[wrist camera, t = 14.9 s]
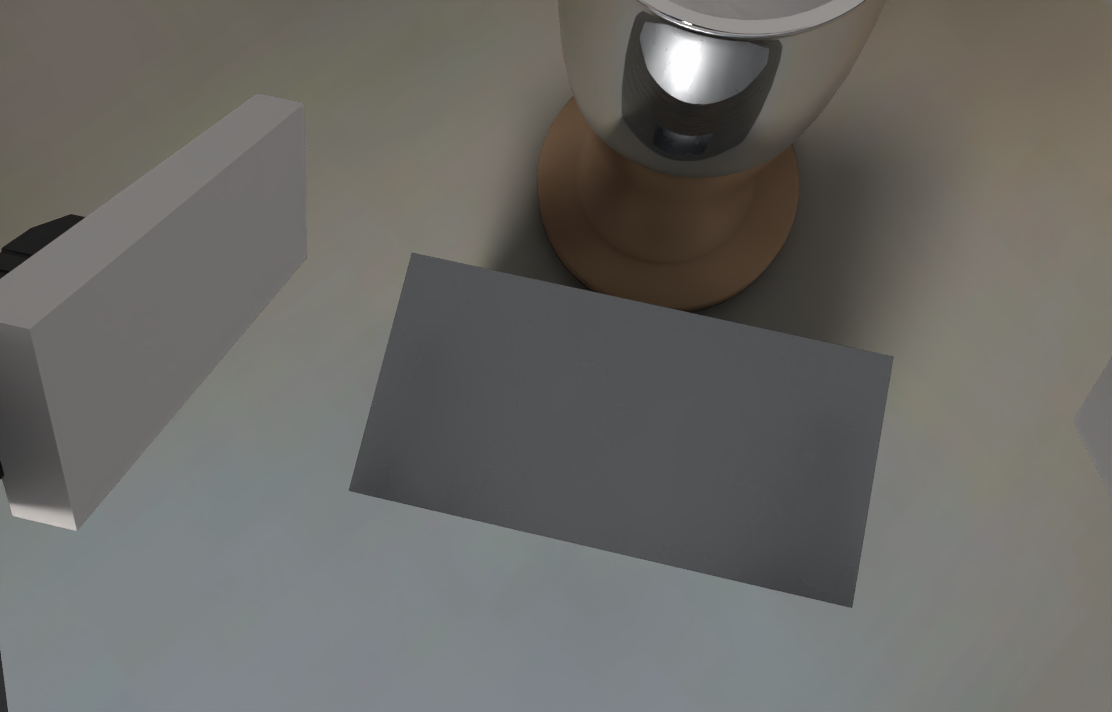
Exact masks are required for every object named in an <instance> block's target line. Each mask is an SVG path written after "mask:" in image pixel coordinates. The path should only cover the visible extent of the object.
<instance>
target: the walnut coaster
mask: <svg viewBox="0 0 1112 712" xmlns="http://www.w3.org/2000/svg"><path fill="white" fill-rule="evenodd" d="M586 135H587V129H586V127H585V124H584V122H583V119H582V117H581V114H580V111H579V109H578V106H577V103H576V101H575V98H574V96H573V97H572V98H571V99H570V101H569V102H568V103H567V104H566V105H565V106H564V108H563V109H562V110H561V111H560V113H559V114H558V116H557V117H556V119H555V120H554V122H553V124H552V126H551V128H550V130H549V132H548V134H547V136H546V138H545V141H544V144H543V148H542V151H541V154H540V160H539V166H538V181H537V187H538V197H539V206H540V213H541V217H542V221H543V226H544V229H545V231H546V234H547V236H548V239H549V241H550V243H551V245H552V247H553V249H554V250H555V252H556V254H557V256H558V257H559V258H560V260H561V261H562V262H563V264H564V265H565V266H566V268H567V269H568V270H569V271H570V272H571V273H572V274H573V275H574V276H575V277H576V278H577V279H578V280H579V281H580V282H581V283H582V284H584V285H585V286H586V287H588V288H589V289H590V290H591V291H593V292H596V293H601V294H606V295H610V296H615V297H620V298H624V299H629V300H633V301H638V302H643V303H647V304H652V305H657V306H661V307H666V308H670V309H675V310H680V311H684V312H693V311H697V310H702V309H706V308H709V307H711V306H714V305H716V304H719V303H722V302H724V301H725V300H727V299H729V298H731V297H733V296H735V295H737V294H738V293H739V292H741V291H742V290H744V289H745V288H746V287H748V286H749V285H750V284H751V283H752V282H753V281H755V280H756V279H757V278H758V277H759V276H760V275H761V274H762V273H763V271H764V270H765V269H766V268H767V266H768V265H769V264H770V263H771V261H772V260H773V259H774V258H775V256H776V255H777V254H778V252H779V251H780V249H781V247H782V246H783V244H784V242H785V241H786V239H787V237H788V234H789V232H790V230H791V227H792V225H793V222H794V219H795V215H796V211H797V207H798V199H799V171H798V165H797V158H796V155H795V152H794V149H793V145H791V146H789V147H788V148H787V149H786V150H785V151H784V152H783V153H781V154H780V155H779V156H778V157H777V158H775V159H774V160H773V161H772V162H771V163H769V164H768V165H767V166H766V167H765V168H763V169H762V170H761V171H760V172H758V173H757V174H756V182H755V189H754V194H753V198H752V202H751V205H750V207H749V210H748V212H747V214H746V216H745V218H744V220H743V221H742V223H741V224H740V226H739V227H738V229H737V230H736V231H735V232H734V233H733V234H732V235H731V237H730V238H728V239H727V240H726V241H725V242H724V243H723V244H721V245H720V246H719V247H717V248H716V249H714V250H712V251H710V252H709V253H707V254H704V255H702V256H700V257H697V258H694V259H691V260H687V261H682V262H674V263H658V262H650V261H645V260H641V259H638V258H635V257H632V256H630V255H628V254H625V253H623V252H622V251H620V250H618V249H617V248H615V247H614V246H612V245H611V244H610V243H608V242H607V241H606V240H605V239H604V238H603V237H602V236H601V235H600V234H599V233H598V232H597V231H596V230H595V228H594V227H593V226H592V224H591V223H590V221H589V220H588V218H587V216H586V214H585V213H584V210H583V208H582V206H581V203H580V200H579V197H578V192H577V186H576V168H577V161H578V156H579V152H580V149H581V146H582V144H583V141H584V139H585V137H586Z"/></svg>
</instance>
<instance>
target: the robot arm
mask: <svg viewBox="0 0 1112 712" xmlns="http://www.w3.org/2000/svg"><path fill="white" fill-rule="evenodd" d="M306 258H307V226H306V173H305V120H304V103H301V102H296V101H291V100H286V99H281V98H276V97H271V96H266V95H262V94H256V95H254V96H253V97H251V98H250V99H249V100H247V101H246V102H245V103H243V104H242V105H240V106H239V107H238V108H236V109H235V110H233V111H232V112H231V113H229V114H228V115H227V116H225V117H224V118H222V119H221V120H220V121H218V122H217V123H215V124H214V125H213V126H211V127H210V128H209V129H207V130H206V131H204V132H203V133H202V134H200V135H199V136H197V137H196V138H195V139H193V140H192V141H191V142H189V143H188V144H186V145H185V146H184V147H182V148H181V149H179V150H178V151H177V152H175V153H174V154H173V155H171V156H170V157H168V158H167V159H166V160H164V161H163V162H161V163H160V164H159V165H157V166H156V167H155V168H153V169H152V170H150V171H149V172H148V173H146V174H145V175H143V176H142V177H141V178H139V179H138V180H137V181H135V182H134V183H132V184H131V185H130V186H128V187H127V188H125V189H124V190H123V191H121V192H120V193H119V194H117V195H116V196H114V197H113V198H112V199H110V200H109V201H107V202H106V203H105V204H103V205H102V206H101V207H99V208H98V209H96V210H95V211H94V212H92V213H91V214H89V215H88V216H87V217H82V216H77V215H72V214H70V215H67V216H64V217H62V218H59V219H56V220H53V221H50V222H47V223H44V224H41V225H39V226H36V227H33V228H30V229H29V230H27V231H26V232H25V233H23V234H22V235H20V236H19V237H17V238H16V239H14V240H13V241H11V242H10V243H8V244H7V245H5V246H4V247H3V248H2V251H1V253H0V479H1V478H2V480H3V484H4V487H5V491H6V494H7V498H8V501H9V505H10V508H11V511H12V515H13V516H15V517H19V518H24V519H28V520H32V521H37V522H41V523H45V524H49V525H54V526H58V527H62V528H67V529H71V530H75V531H77V530H78V529H79V528H80V527H81V526H82V524H83V523H84V522H85V521H86V520H87V518H88V517H89V516H90V515H91V514H92V513H93V511H94V510H95V509H96V508H97V507H98V505H99V504H100V503H101V502H102V501H103V499H104V498H105V497H106V496H107V495H108V494H109V492H110V491H111V490H112V489H113V488H114V486H115V485H116V484H117V483H118V482H119V480H120V479H121V478H122V477H123V476H124V474H125V473H126V472H127V471H128V470H129V469H130V467H131V466H132V465H133V464H134V463H135V461H136V460H137V459H138V458H139V457H140V455H141V454H142V453H143V452H144V451H145V450H146V448H147V447H148V446H149V445H150V444H151V442H152V441H153V440H154V439H155V438H156V436H157V435H158V434H159V433H160V432H161V431H162V429H163V428H164V427H165V426H166V425H167V423H168V422H169V421H170V420H171V419H172V417H173V416H174V415H175V414H176V413H177V412H178V410H179V409H180V408H181V407H182V406H183V404H184V403H185V402H186V401H187V400H188V398H189V397H190V396H191V395H192V394H193V393H194V391H195V390H196V389H197V388H198V387H199V385H200V384H201V383H202V382H203V381H204V379H205V378H206V377H207V376H208V375H209V374H210V372H211V371H212V370H213V369H214V368H215V366H216V365H217V364H218V363H219V362H220V360H221V359H222V358H223V357H224V356H225V355H226V353H227V352H228V351H229V350H230V349H231V347H232V346H233V345H234V344H235V343H236V341H237V340H238V339H239V338H240V337H241V336H242V334H243V333H244V332H245V331H246V330H247V328H248V327H249V326H250V325H251V324H252V322H253V321H254V320H255V319H256V318H257V317H258V315H259V314H260V313H261V312H262V311H263V309H264V308H265V307H266V306H267V305H268V303H269V302H270V301H271V300H272V299H273V298H274V296H275V295H276V294H277V293H278V292H279V290H280V289H281V288H282V287H283V286H284V284H285V283H286V282H287V281H288V280H289V279H290V277H291V276H292V275H293V274H294V273H295V271H296V270H297V269H298V268H299V267H300V265H301V264H302V263H303V262H304V261H305V260H306ZM1073 422H1074V424H1075V426H1076V428H1077V430H1078V432H1079V434H1080V436H1081V438H1082V441H1083V443H1084V445H1085V447H1086V449H1087V451H1088V453H1089V455H1090V457H1091V459H1092V461H1093V463H1094V465H1095V467H1096V469H1097V471H1098V473H1099V475H1100V477H1101V479H1102V481H1103V483H1104V485H1105V487H1106V489H1107V491H1108V493H1109V495H1110V497H1111V499H1112V357H1111V359H1110V361H1109V362H1108V364H1107V366H1106V367H1105V369H1104V370H1103V372H1102V374H1101V375H1100V377H1099V379H1098V380H1097V382H1096V383H1095V385H1094V387H1093V388H1092V390H1091V392H1090V393H1089V395H1088V396H1087V398H1086V400H1085V401H1084V403H1083V405H1082V406H1081V408H1080V409H1079V411H1078V413H1077V414H1076V416H1075V418H1074V419H1073ZM0 712H8V707H7V700H6V692H5V684H4V676H3V669H2V661H1V653H0Z"/></svg>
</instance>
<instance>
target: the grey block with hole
mask: <svg viewBox="0 0 1112 712" xmlns="http://www.w3.org/2000/svg"><path fill="white" fill-rule="evenodd" d="M892 362H893V356H888V355H883V354H879V353H874V352H870V351H865V350H860V349H856V348H851V347H846V346H842V345H837V344H833V343H828V342H823V341H819V340H814V339H809V338H805V337H800V336H795V335H791V334H786V333H782V332H777V331H772V330H768V329H763V328H758V327H754V326H749V325H745V324H740V323H735V322H731V321H726V320H721V319H717V318H712V317H708V316H703V315H698V314H694V313H689V312H684V311H680V310H675V309H670V308H666V307H661V306H657V305H652V304H647V303H643V302H638V301H633V300H629V299H624V298H620V297H615V296H610V295H606V294H601V293H596V292H592V291H587V290H583V289H578V288H573V287H569V286H564V285H559V284H555V283H550V282H545V281H541V280H536V279H532V278H527V277H522V276H518V275H513V274H508V273H504V272H499V271H495V270H490V269H485V268H481V267H476V266H471V265H467V264H462V263H458V262H453V261H448V260H444V259H439V258H434V257H430V256H425V255H420V254H416V253H412V254H411V258H410V262H409V265H408V269H407V273H406V277H405V280H404V284H403V288H402V292H401V295H400V299H399V303H398V307H397V311H396V314H395V318H394V322H393V326H392V329H391V333H390V337H389V341H388V345H387V348H386V352H385V356H384V360H383V363H382V367H381V371H380V375H379V378H378V382H377V386H376V390H375V394H374V397H373V401H372V405H371V409H370V412H369V416H368V420H367V424H366V427H365V431H364V435H363V439H362V443H361V446H360V450H359V454H358V458H357V461H356V465H355V469H354V473H353V477H352V480H351V484H350V488H349V491H352V492H356V493H360V494H365V495H369V496H373V497H377V498H382V499H386V500H390V501H395V502H399V503H403V504H408V505H412V506H416V507H420V508H425V509H429V510H433V511H438V512H442V513H446V514H451V515H455V516H459V517H463V518H468V519H472V520H476V521H481V522H485V523H489V524H494V525H498V526H502V527H506V528H511V529H515V530H519V531H524V532H528V533H532V534H537V535H541V536H545V537H549V538H554V539H558V540H562V541H567V542H571V543H575V544H580V545H584V546H588V547H592V548H597V549H601V550H605V551H610V552H614V553H618V554H622V555H627V556H631V557H635V558H640V559H644V560H648V561H653V562H657V563H661V564H665V565H670V566H674V567H678V568H683V569H687V570H691V571H696V572H700V573H704V574H708V575H713V576H717V577H721V578H726V579H730V580H734V581H739V582H743V583H747V584H751V585H756V586H760V587H764V588H769V589H773V590H777V591H782V592H786V593H790V594H794V595H799V596H803V597H807V598H812V599H816V600H820V601H825V602H829V603H833V604H837V605H842V606H846V607H850V608H852V606H853V600H854V593H855V587H856V581H857V575H858V569H859V563H860V557H861V551H862V545H863V539H864V533H865V527H866V520H867V514H868V508H869V502H870V496H871V490H872V484H873V478H874V472H875V466H876V460H877V454H878V447H879V441H880V435H881V429H882V423H883V417H884V411H885V405H886V399H887V393H888V387H889V381H890V374H891V368H892Z"/></svg>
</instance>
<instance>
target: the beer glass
mask: <svg viewBox="0 0 1112 712" xmlns="http://www.w3.org/2000/svg"><path fill="white" fill-rule="evenodd" d="M885 2H886V0H558V10H559V22H560V34H561V45H562V52H563V57H564V61H565V65H566V69H567V73H568V77H569V81H570V85H571V89H572V92H573V95H574V98H575V101H576V103H577V106H578V109H579V111H580V114H581V117H582V119H583V122H584V124H585V127H586V129H587V135H586V137H585V139H584V141H583V144H582V146H581V149H580V152H579V156H578V161H577V168H576V186H577V192H578V197H579V200H580V203H581V206H582V208H583V210H584V213H585V214H586V216H587V218H588V220H589V221H590V223H591V224H592V226H593V227H594V228H595V230H596V231H597V232H598V233H599V234H600V235H601V236H602V237H603V238H604V239H605V240H606V241H607V242H608V243H610V244H611V245H612V246H614V247H615V248H617V249H618V250H620V251H622V252H623V253H625V254H628V255H630V256H632V257H635V258H638V259H641V260H645V261H650V262H658V263H674V262H682V261H687V260H691V259H694V258H697V257H700V256H702V255H704V254H707V253H709V252H710V251H712V250H714V249H716V248H717V247H719V246H720V245H721V244H723V243H724V242H725V241H726V240H727V239H728V238H730V237H731V235H732V234H733V233H734V232H735V231H736V230H737V229H738V227H739V226H740V224H741V223H742V221H743V220H744V218H745V216H746V214H747V212H748V210H749V207H750V205H751V202H752V198H753V194H754V189H755V182H756V174H757V173H758V172H760V171H761V170H762V169H763V168H765V167H766V166H767V165H768V164H769V163H771V162H772V161H773V160H774V159H775V158H777V157H778V156H779V155H780V154H781V153H783V152H784V151H785V150H786V149H787V148H788V147H789V146H791V145H792V144H793V143H794V142H795V141H796V140H797V138H798V137H799V136H800V135H801V134H802V133H803V132H804V131H805V130H806V129H807V128H808V127H809V126H810V125H811V124H812V123H813V122H814V121H815V120H816V119H817V118H818V117H819V115H820V114H821V113H822V112H823V110H824V109H825V108H826V106H827V105H828V103H829V102H830V100H831V99H832V98H833V96H834V95H835V93H836V92H837V90H838V89H839V87H840V86H841V85H842V83H843V82H844V80H845V79H846V77H847V76H848V74H849V73H850V71H851V69H852V67H853V65H854V64H855V62H856V60H857V58H858V56H859V54H860V53H861V51H862V49H863V47H864V45H865V43H866V42H867V40H868V38H869V36H870V34H871V32H872V30H873V28H874V26H875V24H876V21H877V19H878V17H879V15H880V13H881V11H882V8H883V6H884V4H885Z"/></svg>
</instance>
